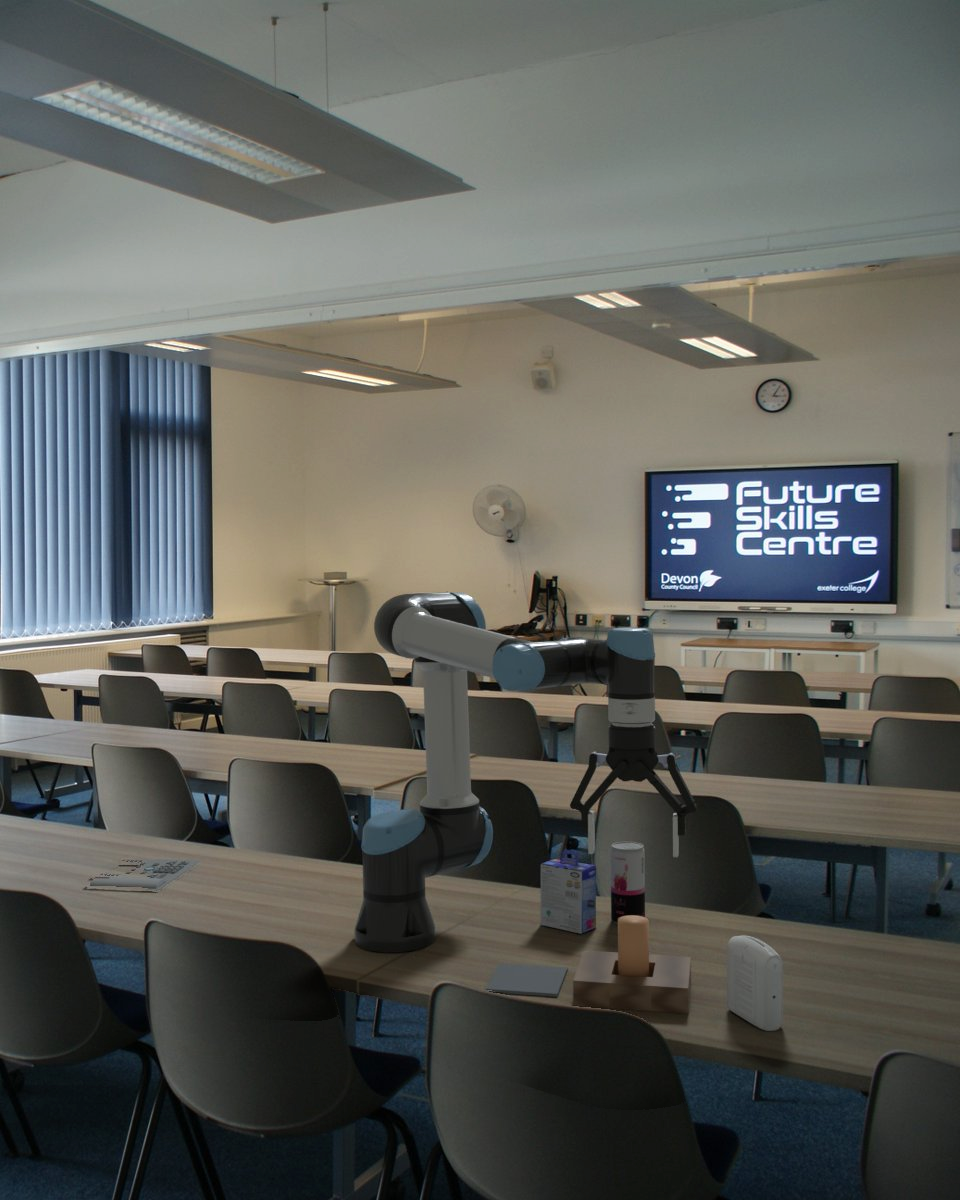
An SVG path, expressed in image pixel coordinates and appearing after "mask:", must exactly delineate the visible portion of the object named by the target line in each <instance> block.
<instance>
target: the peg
mask: <svg viewBox="0 0 960 1200" xmlns="http://www.w3.org/2000/svg"><path fill="white" fill-rule="evenodd" d="M649 923H650V920H649V919H648V918H647V917H646V916H645V917H642V916H635V915H628V916H622V917H620V918H618V925H617V953H618V975H627V976H642V977H649V954H650V924H649Z"/></svg>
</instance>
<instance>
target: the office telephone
mask: <svg viewBox="0 0 960 1200" xmlns="http://www.w3.org/2000/svg"><path fill="white" fill-rule="evenodd" d="M125 860H127V861H126V862H128V861H130V860H131V861H130V862H133V861H134V860H135V861H134V862H137V861H139V862H141V864H140V865H138V866H135V867H136V868H140V867H141V865H142V867H146V868H144V870H143V872H141V871H140V872H141V873H140V874H145V873H147V874H148V876H147V877H150V878H129V877H95V878H94V879H93V880H91V882H89V883H90V886H116V887H142V888H148V889H149V890H156V891H157V890H160V889H162V888H163V887H165V886H166V885H167V884H169V883H170V882H172V881H173V880H175V879H176V878H178V877H179V876H180V875H182V874H183V873H185V872H186V871H187V870H188V869H190V868H191V867H193V866H194V865H196V864H197V863H198V862H200V861H201V860H200V859H199V860H197V859H162V858H161V859H157V858H156V859H150V860H149V859H124V860H122V861H125ZM146 860H147V862H145V861H146ZM142 861H144V863H143V862H142ZM149 861H150V862H149ZM139 862H138V863H139ZM146 863H147V864H149V865H147V864H146ZM144 864H146V865H144ZM155 868H156V869H155ZM135 870H136V869H133V868H131V871H135ZM151 870H152V871H151ZM137 872H138V871H137ZM130 873H132V872H129V871H127V872H126V873H125V874H130ZM107 874H108V873H106V874H104V875H105V876H106V875H107ZM111 874H113V875H111ZM100 875H103V873H102V874H100ZM110 875H111V876H114V875H116V876H118V875H121V874H119V873H118V874H115V873H109V875H107V876H110ZM148 889H146V890H148Z"/></svg>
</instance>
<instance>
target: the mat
mask: <svg viewBox="0 0 960 1200" xmlns="http://www.w3.org/2000/svg"><path fill="white" fill-rule="evenodd" d="M568 969H569V968H568V966H567V967H566V966H565V967H564V966H552V965H551V966H550V965H549V966H548V965H536V964H523V963H522V964H519V963H505V962H504V963H503V962H499V963H498V964H497V967H496V969H495V970H494V972H493V974H492V976H491V978H490V979H489V981H488V983H487V984H486V987H485V989H486V990H492V991H495V992H494V993H496V992H503V993H502V994H511V995H513V994H514V995H524V996H526V995H529V996H539V997H540V996H541V997H553V998H554V997H556V998H558V996H559V995H560V991H561V989H562V986H563V985H564V981H565V979H566V976H567V973H568V971H569V970H568ZM485 989H484V990H485Z"/></svg>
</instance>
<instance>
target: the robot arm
mask: <svg viewBox="0 0 960 1200" xmlns="http://www.w3.org/2000/svg"><path fill="white" fill-rule="evenodd" d="M373 622H374V623H373V627H374V628H373V630H374V636H375V638H376V641H377V642H378V643H379V645H380V646H381V647H382V649H384V650H385V651H386V652H388V653H390V654H392V655H396V656H399V657H402V658H405V659H409V660H410V659H411V660H413V659H414V663H415V665H416V666H418V668H420V669H421V670H422V677H423V678H422V679H423V681H422V682H423V683H422V684H423V685H422V686H423V707H424V711H423V712H424V734H425V735H424V737H425V740H424V741H425V766H426V769H425V770H426V792H427V793H426V794H425V795H424V796H423V798H422V799H421V800H420V801H419V810H416V809H410V808H409V809H407V808H403V809H398V810H395V809H393V810H388V811H384V812H381V813H378V814H376V815H374V816H372V817H370V818H368V819H367V821H365V823H364V825H363V828H362V838H361V839H362V840H361V847H360V848H361V850H362V889H363V891H362V893H363V895H362V896H363V897H362V899H363V900H362V904H361V906H360V910H359V913H358V915H357V920H356V923H355V926H354V942H355V944H356V946H358V947H360V948H361V949H364V950H367V951H372V952H376V953H377V952H378V953H403V952H409V951H410V952H411V951H416V950H419V949H423V948H425V947H427V946H430V945H431V944H432V943H434V941H435V940H436V924H435V921H434V918H433V916H432V912H431V909H430V908H429V907H430V906H429V904H428V900H427V898H426V879H427V878H430V877H435V876H437V875H442V874H446V873H450V872H455V871H462V870H466V869H468V868H469V867H472V866H473V867H474V866H476V865H478V864H479V863H482V861H483V860H484V859H485V858H486V857H487V856H488V854H489V853H490V850H491V849H492V844H493V837H494V835H493V833H494V830H493V824H492V821H491V819H489V814H488V813H487V811H486V810H485V809H484V808H483V807H481V806H480V799H479V798H478V797H477V796H476V795H475V794H474V793H473V792H472V782H471V781H472V780H471V775H472V774H471V753H470V752H471V751H470V750H471V749H470V723H469V722H470V721H469V720H470V719H469V694H468V693H469V690H468V686H469V685H468V672H471V673H474V674H478V675H481V676H484V677H488V678H490V679H493V680H495V681H496V683H497V684H498V685H499V686H500V688H501V689H503V690H505V691H509V692H516V691H517V692H528V691H532V690H538V689H539V690H540V689H546V688H555V687H564V686H572V685H581V684H595V685H606V686H607V697H608V698H607V703H608V704H607V707H608V708H607V709H608V711H607V713H608V714H607V715H608V716H607V717H608V721H609V722H610V724H609V726H608V752H607V753H606V754H605V753H600V752H598V751H596V750H593V751H592V752H591V753H590V755H589V756H588V757H589V758H588V766H587V769H586V771H585V773H584V775H583V776H582V779H581V781H580V783H579V785H578V787H577V789H576V792H575V793H574V795H573V797H572V799H571V802H570V803H569V807H570V808H571V809H572V810H577V811H579V812H580V813H581V814H580V815H581V816H580V817H581V820H580V821H581V822H580V823H581V832H582V833H587V837H588V838H587V839H588V841H587V842H588V845H587V846H588V852H587V853H588V855H593V854H594V853H595V850H596V831H595V829H596V826H595V822H596V821H595V816H596V815H595V810H591V809H592V807H593V806H594V805H596V803H597V801H598V800H600V798H601V797H602V796H604V795H603V794H605V792H606V791H607V790H608V789H609V788H610V787H611V785H612V784H613V783H614V782H615V781H616V780H617V779H619V780H620V781H622V782H630V781H633V782H638V783H639V782H641V783H642V782H644V781H646V780H647V781H648V783H649V784H651V785H652V786H653V788H655V790H656V791H657V792H658V794H660V796H661V797H662V798H663V799H664V800H665V802H666V803H667V804H668V805H669V806H670V808H672V810H673V811H674V813H673V814H672V857H673V858H679V855H680V854H679V853H680V852H679V848H680V847H679V836H682V837H683V836H685V835H686V816H687V815H688V814H692V813H695V812H696V811H697V804H696V801H695V799H694V797H693V795H692V794H691V792H690V790H689V788H688V785H687V784H686V782H685V780H684V778H683V776H682V774H681V772H680V770H679V768H678V766H677V760H676V754H675V753H674V752H669V753H667V754H660V755H658V754H657V750H656V726H655V725H654V724H653V722H655V720H656V695H655V664H656V663H655V659H656V653H655V643H654V641H655V640H654V635H653V631H652V630H650V629H648V628H644V627H618V628H617V627H615V628H614V627H613V628H611V629H609V630H608V631H607V634H606V639H602V638H601V639H599V638H586V637H582V636H575V637H563V638H561V639H559V640H549V641H529V640H526V639H521V638H517V637H514V636H510V635H507V634H502V633H499V632H495V631H491V630H487V625H486V619H485V615H484V612H483V610H482V608H481V606H480V604H479V603H477V602H476V600H475V599H474V597H472V596H471V595H468V594H466V593H464V592H454V591H453V592H451V591H445V592H444V591H443V592H429V593H428V592H426V593H425V592H424V593H402V594H399V595H395V596H393V597H391V598H389V599H388V600H386V601H385V602H384V603H383V604H382V605H381V606H380V607H379V609H378V611H377V612H376V615H375V618H374V621H373ZM603 762H606V764H607V765H608V767H609V768H610V769H611V771H610V773H609V774H608V775H607V776H606V777H605V778H604V780H602V782H601V783H600V784H599V785H598V787H597V788H596V789H595V790H594V791H593V792H592V793H591V795H590V796H589V797H588V799H587V800H585V802H583V801H582V798H583V796H584V794H585V793H586V790H587V788H588V786H589V784H590V782H591V780H592V778H593V776H594V774H595V772H596V771H597V768H598V767H601V766H602V764H603ZM659 763H661V765H662V766H663V768H664V769H668V773H669V774H670V777H671V778H672V780H673V782H674V784H675V786H676V788H677V790H678V792H679V793H680V796H681V798H682V800H683V802H684V804H682V802H681V801H680V799H678V798H677V797H676V795H675V794H673V792H672V791H671V790H670V788H669V787H668V786H667V785H666V784H665V783H664V781H663V780H662V779H661V778H660V777H659V775H658V774H657V772H656V771H655V770H654V769H655V768H656V767H657V765H658V764H659Z"/></svg>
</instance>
